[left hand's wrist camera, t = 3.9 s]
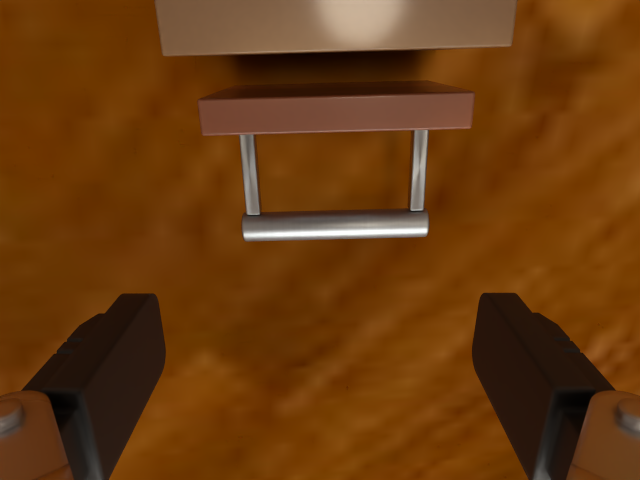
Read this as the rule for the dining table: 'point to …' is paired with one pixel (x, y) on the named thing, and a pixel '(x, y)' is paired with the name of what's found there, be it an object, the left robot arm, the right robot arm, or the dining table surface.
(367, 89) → the drawer
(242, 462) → the dining table surface
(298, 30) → the wooden drawer box
